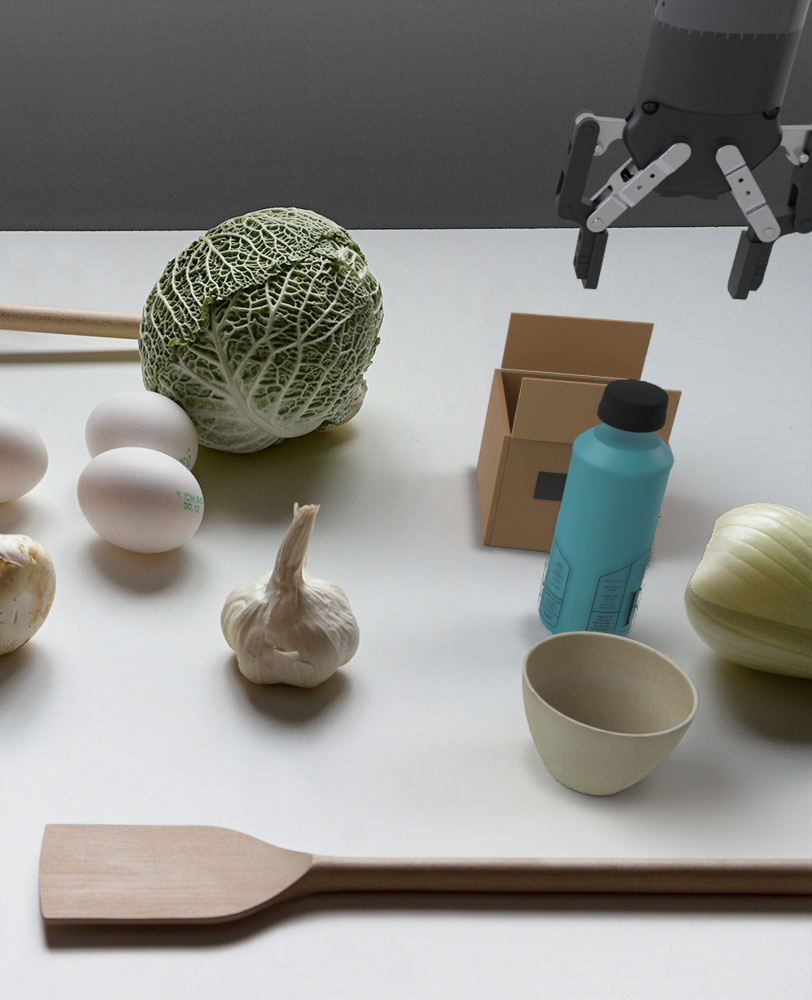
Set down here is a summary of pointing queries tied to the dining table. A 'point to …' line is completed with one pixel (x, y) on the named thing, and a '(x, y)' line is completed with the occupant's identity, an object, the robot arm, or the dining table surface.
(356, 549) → the dining table surface
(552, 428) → the carton
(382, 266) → the dining table surface
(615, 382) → the beverage bottle
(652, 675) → the beige bowl
